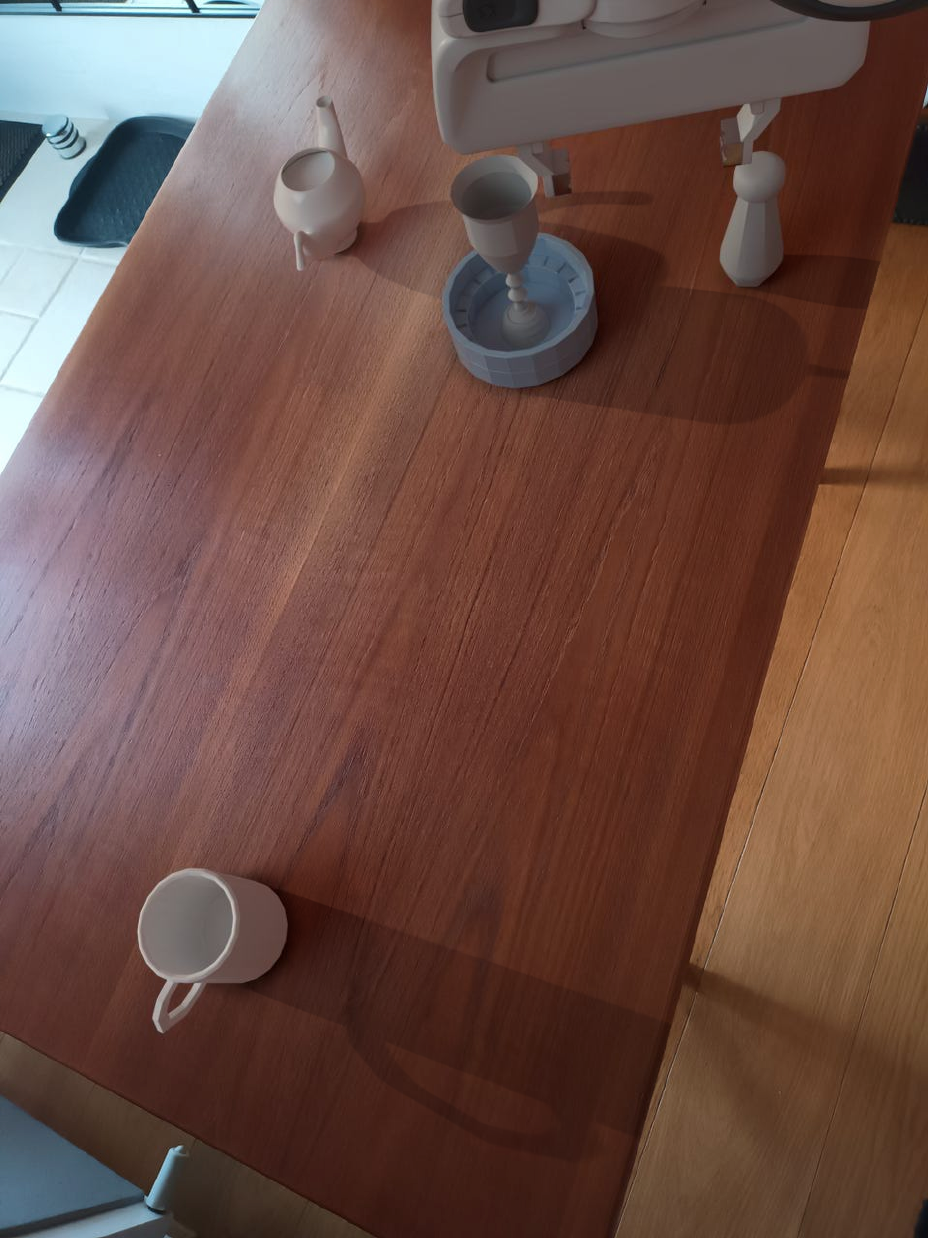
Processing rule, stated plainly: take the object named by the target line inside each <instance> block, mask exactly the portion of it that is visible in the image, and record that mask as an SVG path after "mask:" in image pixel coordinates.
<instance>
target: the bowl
mask: <svg viewBox="0 0 928 1238" xmlns="http://www.w3.org/2000/svg"><path fill="white" fill-rule="evenodd" d="M519 274H520V275H522V276H523V283H522V284H521V287H524V288H525V289H526V290H527V296H526V297H525V298H524V299H528V300H532V301H534V302H536V303H537V304H538V305H539V306H540V307H541V308H542V309H543V310H544V311H545V312H546V313H547V314H548V316H549V319H550V329H549V332H548V334H547V335H546V337H545V338H544V339H543V340H542V341H540V342H539V343H537V344H536V345H533V346H530V347H523V348H519V347H514V346H511V345H509V344H508V343H506V342H505V341H504V340H503V338H502V337H501V334H500V324H501V321H502V318H503V316H504V312H505V310H506V308H507V307H508V306H509V305H510V304H512V303H513V302H514V301H512V300H510V298H509V297H508V293H509V291H510V290H511V287H510V286H508V285H507V284H506V279H507V277H508V274H503V273H501V272H499V271H497V270H496V269H495V268H494V267H492V266H491V265H490V264H488V263H487V262H486V261H485V260H484V259H483V258H482V257H481V256H480V255H479V253H478V252H477V251H476V250H475V249H474V248H473V249H472V250H471V251H470V252H469V253H467V254H466V255H465V256H463V257H462V259H461V260H460V261H459V262H458V263H457V265H456V266H455V268H454V269H453V271H452V272H451V273H450V274H449V276H448V278H447V281H446V284H445V287H444V289H443V290H444V291H443V292H442V295H441V296H442V299H441V300H442V317H443V319H444V322H445V325H446V328H447V331H448V334H449V337H450V341H451V343H452V346H453V348H454V350H455V353H456V355H457V357H458V360H459V362H460V364H461V365H462V366H463V367H464V368H466V370H468V372H469V373H470V374H471V375H472V376H474V377H475V378H477V379H479V380H481V381H484V382H485V383H488V384H489V385H492V386H495V387H496V386H497V387H502V388H511V389H520V388H522V389H523V388H528V387H529V388H530V387H535V386H537V387H538V386H540V385H543V384H545V383H547V382H550V381H552V380H556V379H557V378H560V377H562V376H563V375H564V374H566V373H567V372H569V371H570V370H571V369H573V368H574V367H575V366H576V365H578V364H579V363H580V362H581V361H582V360H583V358H584V356H585V355H586V353H587V352H588V351H589V349H590V348H591V346H592V345H593V343H594V340H595V336H596V333H597V330H598V327H599V319H598V307H597V306H598V305H597V296H596V289H595V280H594V271H593V269H592V267H591V265H590V263H589V262H588V260H587V258H586V256H585V254H584V253H583V252H581V250H579V249H578V248H577V247H576V246H574V245H573V244H572V243H571V242H570V241H569V240H566V239H564V238H561V237H558V236H556V235H553V234H551V233H548V232H538V235H537V239H536V242H535V246H534V248H533V250H532V252H531V254H530V256H529V258H528V261H527V263H526V265H525V267H524V268H523V269H522V270H521V271H519Z"/></svg>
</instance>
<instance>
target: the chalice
mask: <svg viewBox="0 0 928 1238" xmlns="http://www.w3.org/2000/svg"><path fill="white" fill-rule="evenodd" d="M538 183H539V176H538V175H537V174H536V173H535V172H534V171H533V170H531V169H530V168H529V167H528V166H527V165H526V164H525V163H523V162H522V161H521V160H520V159H519V158H518V156H515V155H507V154H496V155H495V154H494V155H488V156H484V157H481V158H479V159H476V160H474V161H473V162H471V163H469V164H467V165H466V166H464V167H463V168H462V169H461V170H460V171H459V172H458V173H457V174H456V175H455V178H454V180H453V182H452V183H451V185H450V187H451V188H450V194H449V195H450V199H451V202H452V203H453V204H452V205H453V206H454V208H456V209H457V211H459V212H460V213H461V216H462V219H463V224H464V227H465V230H466V234H467V238H468V241H469V244H470V246H471V247H472V248H473V250H474V249H475V250H476V251H477V252H478V253H479V255H480V256H481V257H482V258H483V259H484V260H485V261H486V262H487V263H488V264H490V265H491V266H492V267H494V268H495V269H496V270H497V271H499V272H501V273H503V274H508V277H507V279H506V284H507V285H508V286H510V287H511V290H510V291H509V293H508V297H509V298H510V300H512V301H514V302H513V303H512V304H510V305H509V306H508V307H507V308H506V310H505V312H504V316H503V318H502V321H501V324H500V334H501V337H502V338H503V340H504V341H505V342H506V343H508V344H509V345H511V346H514V347H519V348H523V347H530V346H533V345H536V344H537V343H539V342H540V341H542V340H543V339H544V338H545V337H546V335H547V334H548V332H549V329H550V319H549V316H548V314H547V313H546V312H545V311H544V310H543V309H542V308H541V307H540V306H539V305H538V304H537V303H536V302H534V301H532V300H528V299H524V298H525V297H526V296H527V290H526V289H525V288H524V287H521V284H522V283H523V276H522V275H520V274H519V271H521V270H522V269H523V268H524V267H525V265H526V263H527V261H528V258H529V256H530V254H531V252H532V250H533V248H534V246H535V242H536V239H537V235H538V233H540V231H539V230H540V221H539V214H538V208H537V204H536V197H535V195H536V192H537V190H538V186H539V185H538Z"/></svg>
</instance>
